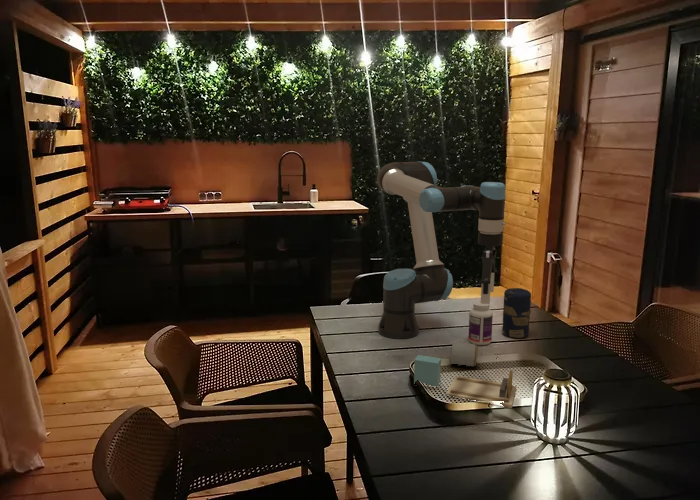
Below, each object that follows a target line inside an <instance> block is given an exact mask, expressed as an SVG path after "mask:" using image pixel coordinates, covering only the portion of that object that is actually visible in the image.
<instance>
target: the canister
mask: <svg viewBox="0 0 700 500" xmlns="http://www.w3.org/2000/svg"><path fill="white" fill-rule="evenodd" d="M503 294H504V295H503V311H502V328H501V330H502V333H503V334H504V335H506V336H507V337H510V338H514V339H515V338H517V339H521V338H526V337H527V336H528V335H529V332H530V321H531V320H530V318H531V312H532V311H531V305H532V301H531V300H532V293H531V291H529V290H527V289H525V288H521V287H512V288H507V289H505V291H504V292H503Z"/></svg>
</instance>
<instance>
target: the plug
mask: <svg viewBox="0 0 700 500" xmlns="http://www.w3.org/2000/svg"><path fill="white" fill-rule="evenodd" d="M413 368H414V369H413V370H414V371H413V385H414V384H415V382H416V381H417V380H419V381H421V382H423V383H425V384H428V385H431V386H436V387H437V386H438V385H439V383H440V384H441V377H442V375H441V373H442V372H441V370H442V358H441V357H440V358H439V357H434V356H429V355H428V356H427V355H421V354H418V355H417V356H416V357H415V358H414V367H413ZM439 386H440V385H439Z"/></svg>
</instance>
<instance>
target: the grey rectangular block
mask: <svg viewBox="0 0 700 500" xmlns="http://www.w3.org/2000/svg"><path fill="white" fill-rule="evenodd" d="M478 349H479V347H478V345H476V344H473V343H471V342H463V341H459V340H453V341H452V345H451V353H450V365H452V364H458V365H457V366H461V365H466V366H465V367H470V366H471V367H476V366H477V360H478Z"/></svg>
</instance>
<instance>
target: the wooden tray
mask: <svg viewBox="0 0 700 500" xmlns="http://www.w3.org/2000/svg"><path fill="white" fill-rule="evenodd" d="M513 377H514V375H513V370H510V371H509V374H508V377H503V378H502V381H501V382H498V381H492V380H485V379H479V378H474V377H473V378H472V377H466V376H461V375H460V376H459V375H457V376H454V378H453V380H452V381H451V384H450V385H449V387H448V388H447V391H446V394H445V396H446V395H449V396H454V397H458V398H465V399H469V400H476V401H504V403H503V402H502V403H500V404H502V405H503V406H504V407H503V408H508V409H512V408H513V405H514V401H513V399H515V397H516V393H515V392H517V386H515V385H513ZM514 396H515V397H514ZM512 404H513V405H512Z"/></svg>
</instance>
